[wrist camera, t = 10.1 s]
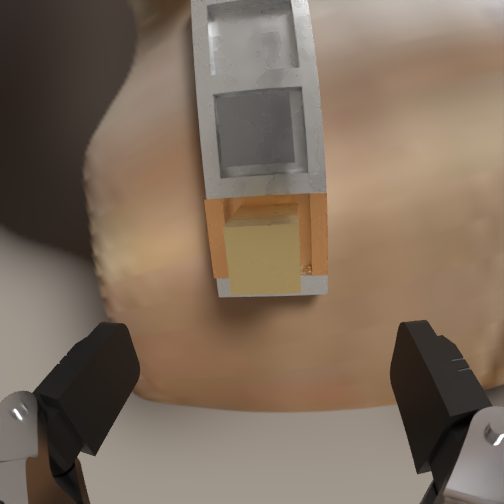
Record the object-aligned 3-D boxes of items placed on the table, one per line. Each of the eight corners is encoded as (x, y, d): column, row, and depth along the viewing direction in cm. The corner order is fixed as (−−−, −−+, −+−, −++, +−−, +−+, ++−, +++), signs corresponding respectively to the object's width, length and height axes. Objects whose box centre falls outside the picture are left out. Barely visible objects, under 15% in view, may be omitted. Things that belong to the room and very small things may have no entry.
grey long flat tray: (196, 3, 20) (187, -8, 18) (302, -8, 19) (303, -22, 17) (222, 284, 29) (216, 297, 26) (324, 281, 27) (327, 294, 25)
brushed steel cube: (230, 107, 22) (216, 98, 18) (289, 102, 22) (289, 91, 17) (235, 163, 24) (222, 167, 19) (293, 159, 23) (294, 162, 19)
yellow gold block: (239, 206, 25) (223, 227, 19) (296, 203, 24) (298, 223, 18) (244, 259, 26) (231, 295, 20) (298, 257, 26) (301, 293, 20)
